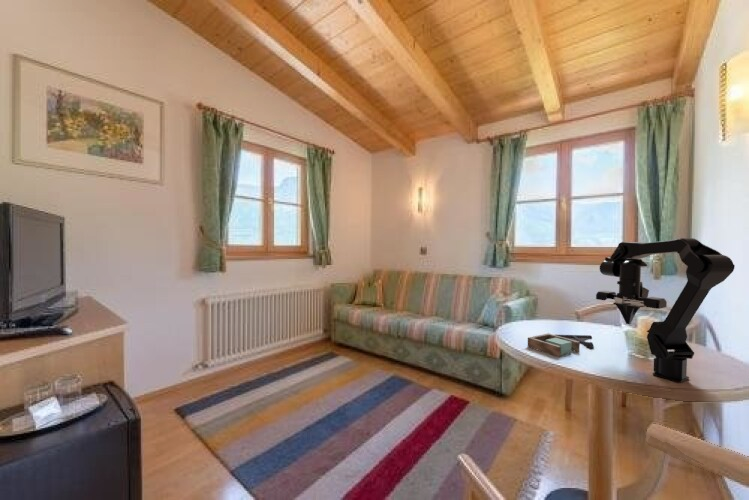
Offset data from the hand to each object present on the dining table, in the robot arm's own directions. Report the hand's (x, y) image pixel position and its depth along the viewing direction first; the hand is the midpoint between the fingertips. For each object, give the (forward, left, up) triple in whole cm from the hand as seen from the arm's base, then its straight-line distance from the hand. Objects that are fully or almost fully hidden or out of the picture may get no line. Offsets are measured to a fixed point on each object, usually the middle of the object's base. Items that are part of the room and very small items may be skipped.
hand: (628, 324), depth 113 cm
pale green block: (+16, +14, -12) cm, 24 cm away
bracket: (+18, -4, -13) cm, 22 cm away
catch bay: (+18, +14, -12) cm, 25 cm away
